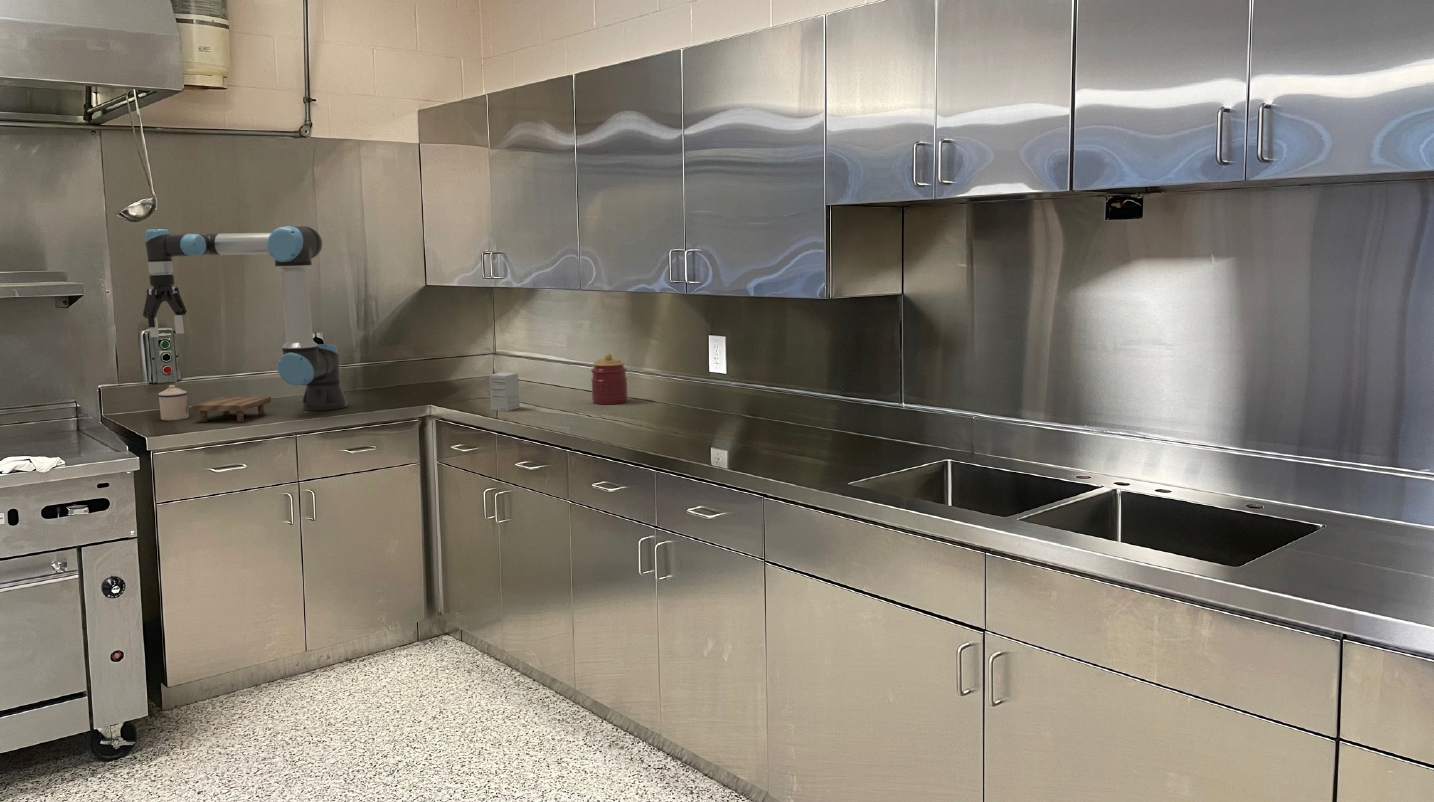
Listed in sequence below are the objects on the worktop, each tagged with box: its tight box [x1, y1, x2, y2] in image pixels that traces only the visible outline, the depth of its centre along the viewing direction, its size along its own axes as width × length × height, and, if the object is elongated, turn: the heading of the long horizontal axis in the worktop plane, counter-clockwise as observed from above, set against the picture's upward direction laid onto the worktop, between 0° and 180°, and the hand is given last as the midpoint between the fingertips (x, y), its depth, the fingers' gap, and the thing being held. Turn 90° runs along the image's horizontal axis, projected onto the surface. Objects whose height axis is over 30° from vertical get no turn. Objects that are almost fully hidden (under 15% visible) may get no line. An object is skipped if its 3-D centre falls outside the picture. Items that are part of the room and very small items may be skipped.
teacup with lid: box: [157, 384, 190, 422], centre depth 367 cm, size 12×9×12 cm
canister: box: [590, 353, 629, 405], centre depth 384 cm, size 13×13×18 cm
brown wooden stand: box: [191, 396, 272, 423], centre depth 365 cm, size 18×18×6 cm
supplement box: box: [489, 371, 521, 412], centre depth 373 cm, size 7×7×13 cm
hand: (167, 335), depth 372 cm, fingers open, 13 cm apart
